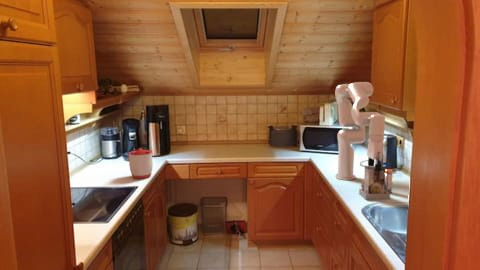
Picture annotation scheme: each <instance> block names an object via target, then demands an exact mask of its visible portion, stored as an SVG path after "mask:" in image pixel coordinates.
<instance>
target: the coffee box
mask: <svg viewBox="0 0 480 270" xmlns="http://www.w3.org/2000/svg"><path fill="white" fill-rule="evenodd" d="M385 169H386V168H385V167H383V166H382V165H381V171H375V165H374V166H367V165H366V166H364V176H363V177H364V192H365V193H366V194H384V186H385Z"/></svg>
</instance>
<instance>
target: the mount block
mask: <svg viewBox="0 0 480 270" xmlns="http://www.w3.org/2000/svg"><path fill="white" fill-rule="evenodd" d="M360 182H361V184H360V187H361V188H360V189H364V179H363V178H362V179H361V181H360Z"/></svg>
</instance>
